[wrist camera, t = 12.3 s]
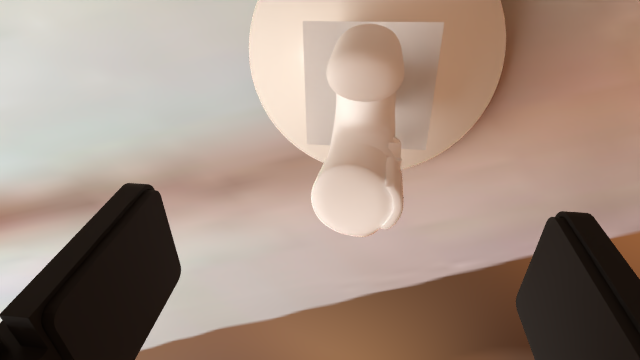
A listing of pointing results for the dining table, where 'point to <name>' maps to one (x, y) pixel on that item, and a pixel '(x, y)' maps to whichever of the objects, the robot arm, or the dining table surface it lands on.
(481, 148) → the dining table surface
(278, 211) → the dining table surface
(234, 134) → the dining table surface
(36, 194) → the dining table surface
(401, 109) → the figurine
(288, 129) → the plate
